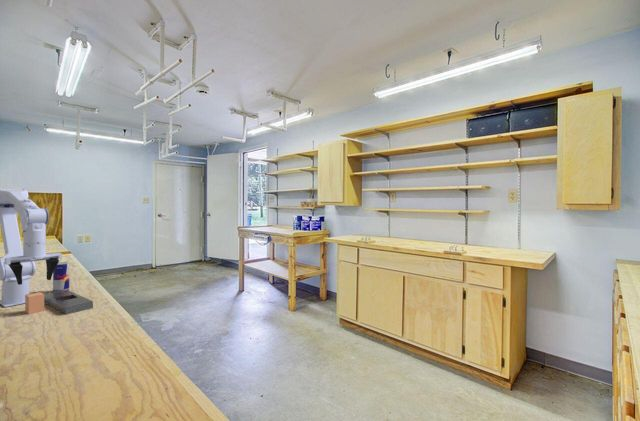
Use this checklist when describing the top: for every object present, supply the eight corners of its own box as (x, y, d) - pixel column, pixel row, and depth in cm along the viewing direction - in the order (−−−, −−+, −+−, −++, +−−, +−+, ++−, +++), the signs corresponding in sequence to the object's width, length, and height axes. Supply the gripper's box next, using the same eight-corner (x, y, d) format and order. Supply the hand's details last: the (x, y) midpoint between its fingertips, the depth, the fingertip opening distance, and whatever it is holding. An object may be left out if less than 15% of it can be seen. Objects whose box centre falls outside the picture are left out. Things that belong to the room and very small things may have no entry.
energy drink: (59, 293, 127) (59, 264, 127) (49, 292, 129) (49, 264, 128) (72, 290, 133) (72, 262, 132) (62, 289, 134) (62, 261, 134)
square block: (25, 311, 106) (25, 294, 106) (40, 308, 110) (40, 292, 110) (28, 314, 104) (28, 296, 104) (44, 311, 108) (44, 294, 107)
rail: (41, 301, 118) (41, 294, 118) (67, 296, 124) (67, 289, 124) (65, 314, 105) (65, 307, 105) (93, 308, 111) (93, 301, 111)
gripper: (8, 246, 98) (8, 288, 98) (65, 242, 110) (64, 279, 111) (2, 244, 102) (3, 284, 102) (57, 240, 114) (57, 276, 114)
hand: (34, 281), depth 107 cm, fingers open, 7 cm apart
